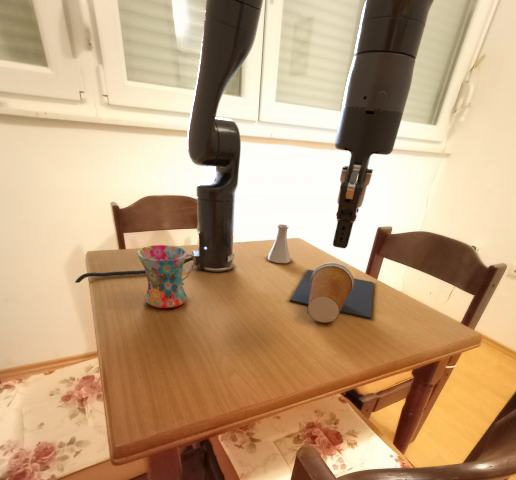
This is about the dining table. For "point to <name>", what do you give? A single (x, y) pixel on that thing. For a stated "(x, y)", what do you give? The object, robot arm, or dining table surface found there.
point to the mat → (354, 303)
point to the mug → (164, 274)
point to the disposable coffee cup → (329, 291)
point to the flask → (280, 247)
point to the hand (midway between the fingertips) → (339, 246)
